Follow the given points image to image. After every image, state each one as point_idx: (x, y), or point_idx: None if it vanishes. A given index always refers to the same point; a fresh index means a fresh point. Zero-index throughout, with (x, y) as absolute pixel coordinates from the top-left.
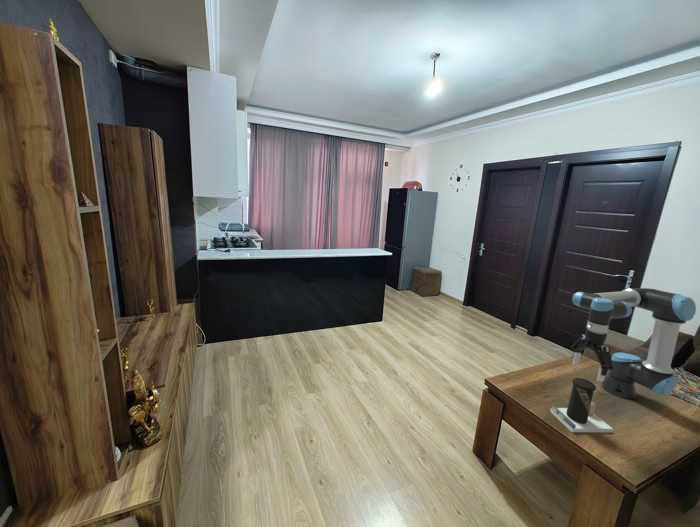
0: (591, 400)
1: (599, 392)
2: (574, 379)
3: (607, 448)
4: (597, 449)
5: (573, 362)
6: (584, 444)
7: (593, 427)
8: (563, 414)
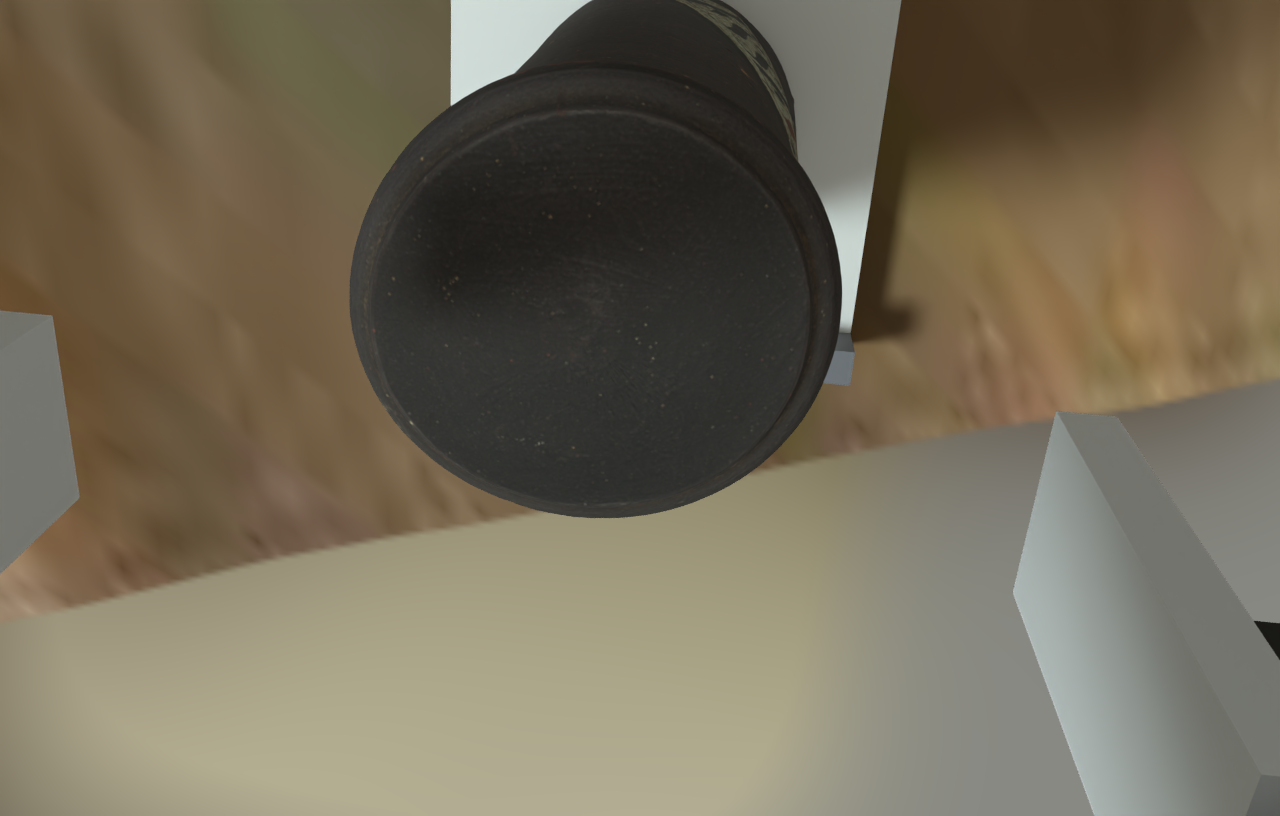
0: (769, 116)
1: None
2: (452, 459)
3: (1155, 124)
4: (1134, 275)
5: (14, 537)
6: (1035, 363)
7: (872, 37)
8: None
